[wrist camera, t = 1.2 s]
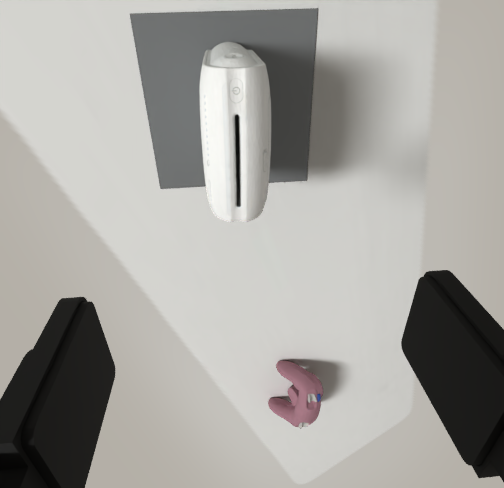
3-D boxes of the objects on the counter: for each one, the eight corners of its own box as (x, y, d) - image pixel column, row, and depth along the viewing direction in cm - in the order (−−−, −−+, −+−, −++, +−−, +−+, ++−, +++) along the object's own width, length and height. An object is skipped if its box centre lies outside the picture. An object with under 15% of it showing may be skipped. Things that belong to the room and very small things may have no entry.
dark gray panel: (130, 13, 27) (129, 13, 27) (317, 8, 28) (317, 8, 27) (160, 188, 35) (160, 188, 34) (306, 179, 35) (306, 180, 35)
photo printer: (200, 39, 28) (192, 60, 18) (256, 39, 28) (279, 59, 18) (208, 167, 34) (206, 239, 23) (254, 165, 34) (272, 236, 24)
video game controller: (289, 391, 56) (318, 430, 52) (264, 404, 54) (292, 445, 49) (300, 348, 51) (334, 387, 46) (274, 360, 49) (306, 402, 44)
